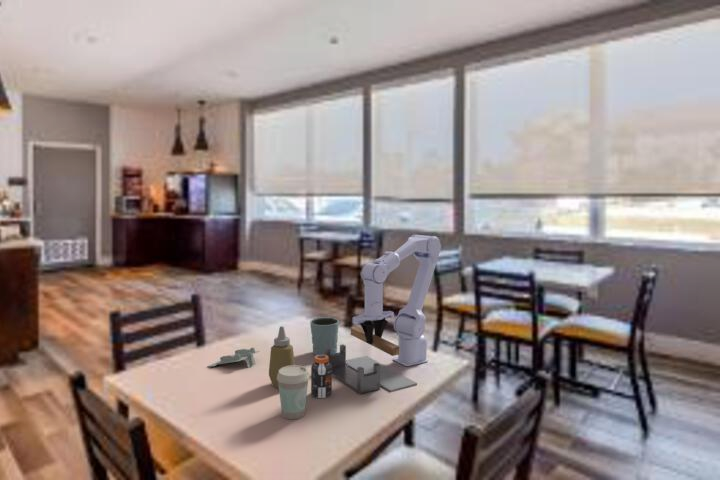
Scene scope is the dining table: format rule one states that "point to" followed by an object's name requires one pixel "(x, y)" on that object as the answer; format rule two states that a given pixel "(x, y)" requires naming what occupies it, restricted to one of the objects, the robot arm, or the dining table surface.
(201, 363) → the dining table surface
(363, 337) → the walnut bar
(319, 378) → the pill bottle
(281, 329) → the squeeze bottle
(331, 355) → the dark grey cradle
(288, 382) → the coffee cup
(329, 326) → the teal tumbler
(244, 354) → the metal bracket
